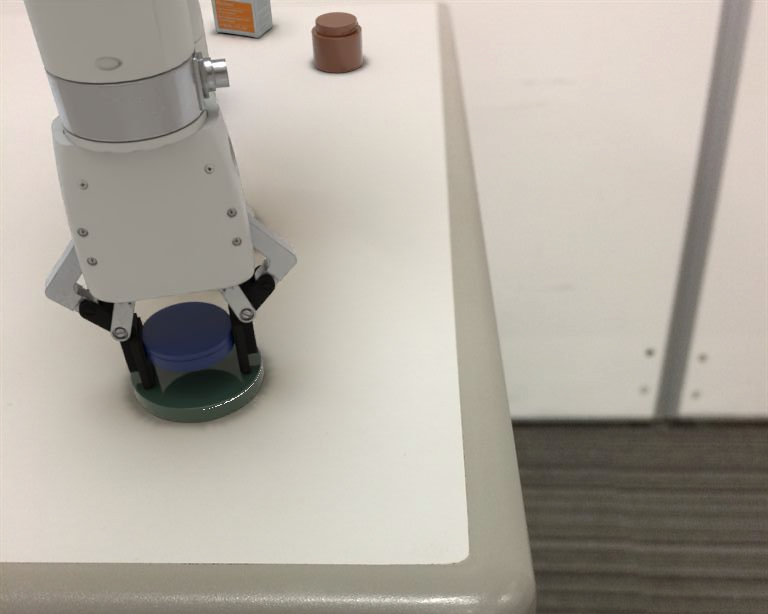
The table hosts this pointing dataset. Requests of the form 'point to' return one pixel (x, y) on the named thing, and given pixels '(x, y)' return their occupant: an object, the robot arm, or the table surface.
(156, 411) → the coaster
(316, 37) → the jar
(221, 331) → the jar lid
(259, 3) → the cosmetic box
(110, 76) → the robot arm
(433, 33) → the table surface
